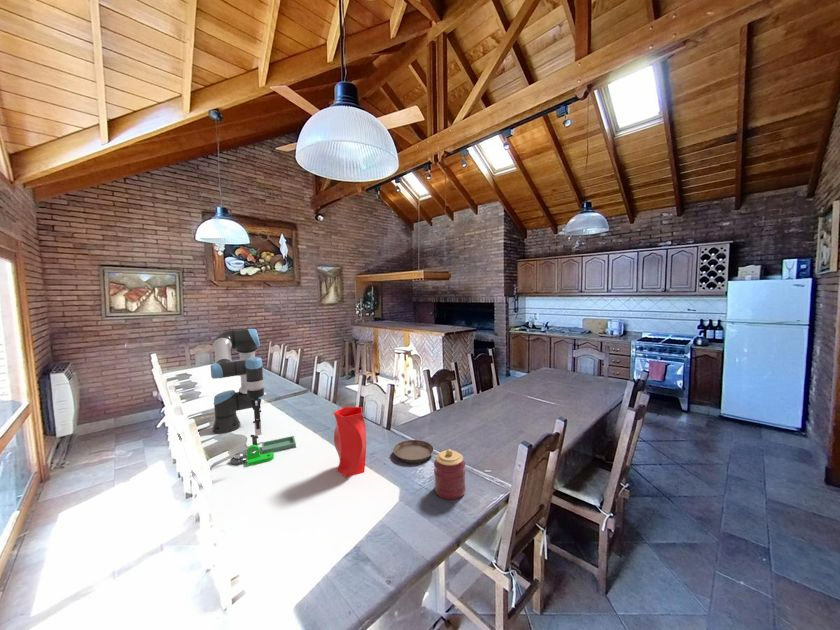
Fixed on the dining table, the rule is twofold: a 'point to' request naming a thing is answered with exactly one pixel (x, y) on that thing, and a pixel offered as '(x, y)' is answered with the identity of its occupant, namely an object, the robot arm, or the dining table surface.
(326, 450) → the dining table surface
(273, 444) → the tray
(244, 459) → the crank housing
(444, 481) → the canister
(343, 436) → the vase
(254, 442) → the crank
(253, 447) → the mechanical part
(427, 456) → the plant saucer
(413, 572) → the dining table surface
